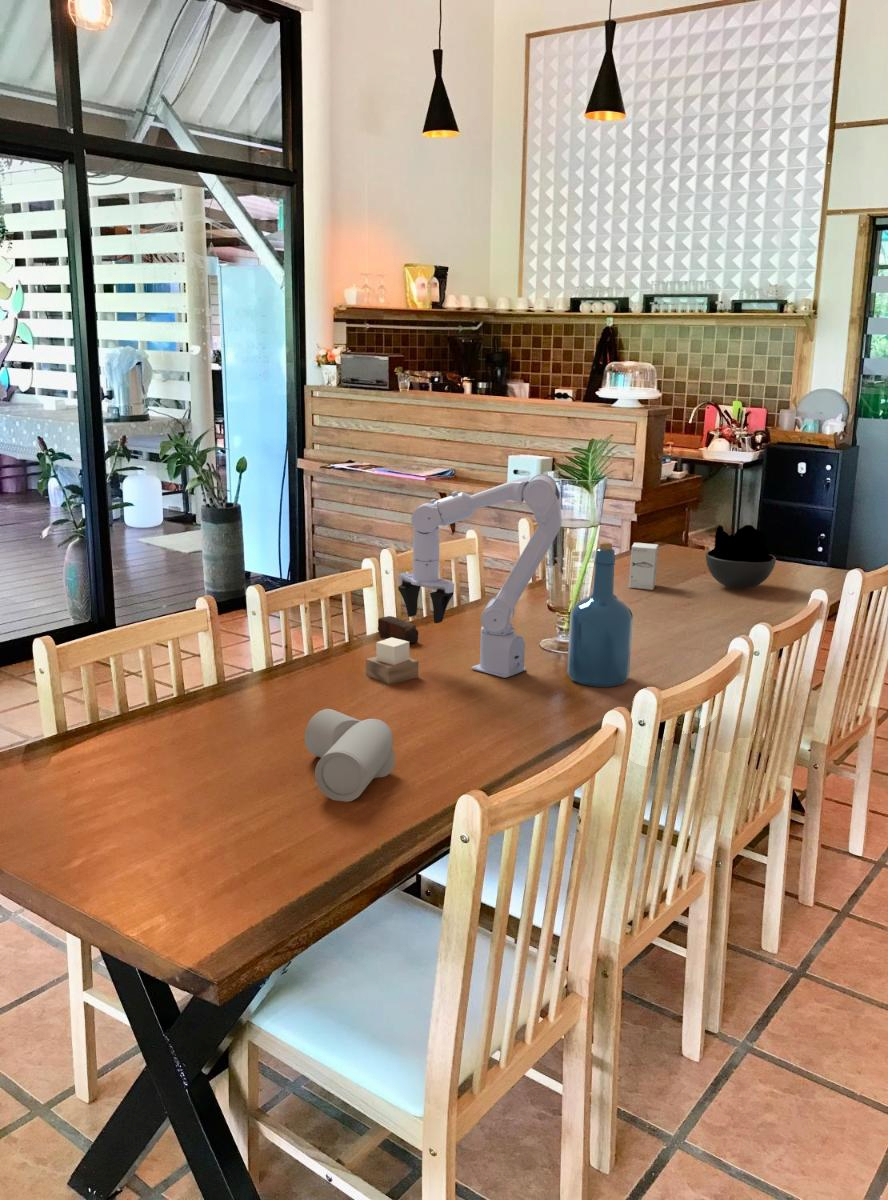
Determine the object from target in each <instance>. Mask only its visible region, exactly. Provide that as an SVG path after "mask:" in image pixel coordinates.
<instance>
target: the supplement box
mask: <svg viewBox="0 0 888 1200" xmlns="http://www.w3.org/2000/svg"><path fill="white" fill-rule="evenodd" d="M658 554H659V544H656V543H654V544H653V543H646V542H645V543H643V542H633V544H632V545H631V554H630V564H629V577H628V580H629V581H628V589H640V590H648V591H649V590H650V591H652V590H654V588H655V586H656V585H655V584H656V576H657V568H658V566H657V565H658Z"/></svg>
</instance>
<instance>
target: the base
mask: <svg viewBox="0 0 888 1200" xmlns="http://www.w3.org/2000/svg"><path fill="white" fill-rule="evenodd" d="M365 676H367V677H370V678H372V679H375V680H377V681H378V682H381V683H384V684H386V685H392V684H397V683H401V682H404V681H409V680H412V679H417V678H419V660H417V659H414V658H412V657H410V656H409V660H407V661H404V662H401V663H398V664H396V665H392V664H388V663H385V662H381V661H377V660H376V656H371V657H367V658H365Z"/></svg>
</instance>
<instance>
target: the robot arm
mask: <svg viewBox="0 0 888 1200" xmlns="http://www.w3.org/2000/svg"><path fill="white" fill-rule="evenodd" d="M450 494H451V495H449V496H446V497H443V498H440V499H436V498H433V499H431V500H430V502H426V503H425V502H424V503H422V504H420V506H418V507H417V508H415V509H414V511H413V512H412V514H411V518H410V521H411V525H412V527H413V538H412V573H407V572H402V573H398V574H397V575H398V579H397V581H398V582H397V583H399V584H401V585H398V587H397V590H398V591H399V593H400V595H401V596H402V599H403V603H404V605H405V609H406V613H407V617H409V618H411V617H412V618H413V617H415V616H417V613H418V604H419V603H418V602H419V601H418V600H419V594H420V590H421V588H427V589H431V590H436V591H433V592H432V591H431V592H429V596H430V599H431V603H432V611H433V616H432V618H433V622H434V624H439V623H443V621H444V616H445V613H446V611H447V610H446V609H447V607H448V605H449V602H450V600H451V599H452V598H453V596H454V592H455V583H454V582H450V581H448V580H445V579H442V578H440V573H439V572H440V536H439V535H440V526H443V527H444V526H448V525H451V524H455V523H457V522H461V521H465V520H467V519H470V518H472V517H473V515H474V512H475V511H476V510H478V509H482V508H485V507H489V506H492V505H497V504H499V503H502V502H503V503H504V502H507V501H511V502H515V503H518V504H523V502H525V504H526V506H528V508H529V509H530V511H531V512H532V513H533V516H534V519H535V522H536V524H537V526H536V529H534V531H533V533H532V535H531V537H530V539H529V540H528V542H527V544H526V546H525V547H524V548H523V550H522V553H521V554H520V555H519V557H518V559H517V561H516V562H515V565H514V566H513V568H512V569H511V571H510V573H509V574H508V577H507V578H506V580H505V582H504V583H503V585H502V586H501V588H500V590H499V591H498V594H497V595H495V596H494V597H492V598H491V599H490V600H488V602H487V604H486V607H485V608H484V610H483V611H482V612H481V615H480V623H481V627H480V647H479V648H480V653H479V654H480V655H479V663H478V664H475V665H473V666H471V670H474V671H477V672H481V673H486V674H488V675H489V674H490V675H493V676H496V677H500V678H503V679H504V678H505V679H506V678H510V677H512V676H515V675H517V674H519V673H522V672H524V671H526V670H527V668H526V667H525V655H526V654H525V651H526V643H525V639H524V637H522V636H521V635H519V634H517V633H516V632H515V627H514V626H513V624H512V623H511V620H512V619H513V617H514V615H515V607H516V606H517V604H518V602H519V600H520V598H521V596H522V594H523V592H524V591H525V589H526V588H527V586H528V584H529V583H530V581H531V579H532V578H533V576H534V574H535V572H536V571H537V569H538V567H539V565H540V564H541V562H542V561H543V559H544V557H545V555H546V554H547V552H548V550H549V549H550V547H551V546H552V544H553V542H554V541H555V539H556V537H557V535H558V533H559V532H560V530H561V527H562V522H563V521H562V508H561V492H560V490H559V488H558V485H557V482H556V481H555V479H554V478H553V477H551V476H550V475H549V474H544V473H541V474H536V475H534V476H533V477H532V478H531V476H526V477H522V478H517V479H514V480H513V479H512V480H510V481H508V482H505V483H502V484H499V485H496V486H493V487H491V488H489V489H486V490H483V491H480V492H477V493H475V494H468V493H466V492H464V491H461V492H459V491H458V490H455V491H452V492H451V493H450Z"/></svg>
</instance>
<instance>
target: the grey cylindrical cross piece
mask: <svg viewBox="0 0 888 1200" xmlns="http://www.w3.org/2000/svg"><path fill="white" fill-rule="evenodd" d="M393 740H394V739H393V733H392V729H391V728H390V726H389V725H388V724H387V723H386V722H384V721H383V720H381V719H377V718H368V719H367V718H366V719H363V720H360V719H358V718H355V717H352V716H350V715H347V714H346V713H342V712H339V711H338V710H334V709H331V708H324V709H322V710H319V711H318V712H317V713H315V714H314V715H313V716H312V717H311V718H310V720H309V721H308V723H307V725H306V728H305V731H304V744H305V747H306V749H307V751H308V752H309V753H310V754H311V755H314V756H316V757H318V758H320V759H319V760H318V761H317V764H316V766H315V768H314V769H315V770H314V779H315V782H316V785H317V787H318V788H319V790H320V791H321V793H322V794H323V795H325V796H326V797H327V798H328V799H330V800H332V801H337V802H338V801H340V802H347V803H348V802H352V801H355V800H356V799H357V798H359V797H360V796H361V795H362V793H363V792H364V791H365V790H366V788H367V787H368V785H369V784H370V783H371V782H372V781H373V779H377V778H383V777H384V778H385V777H387V776H389V775H390V774H391V773H392V771H393V769H394V768H395V764H396V755H395V751H394V749H393Z"/></svg>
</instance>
